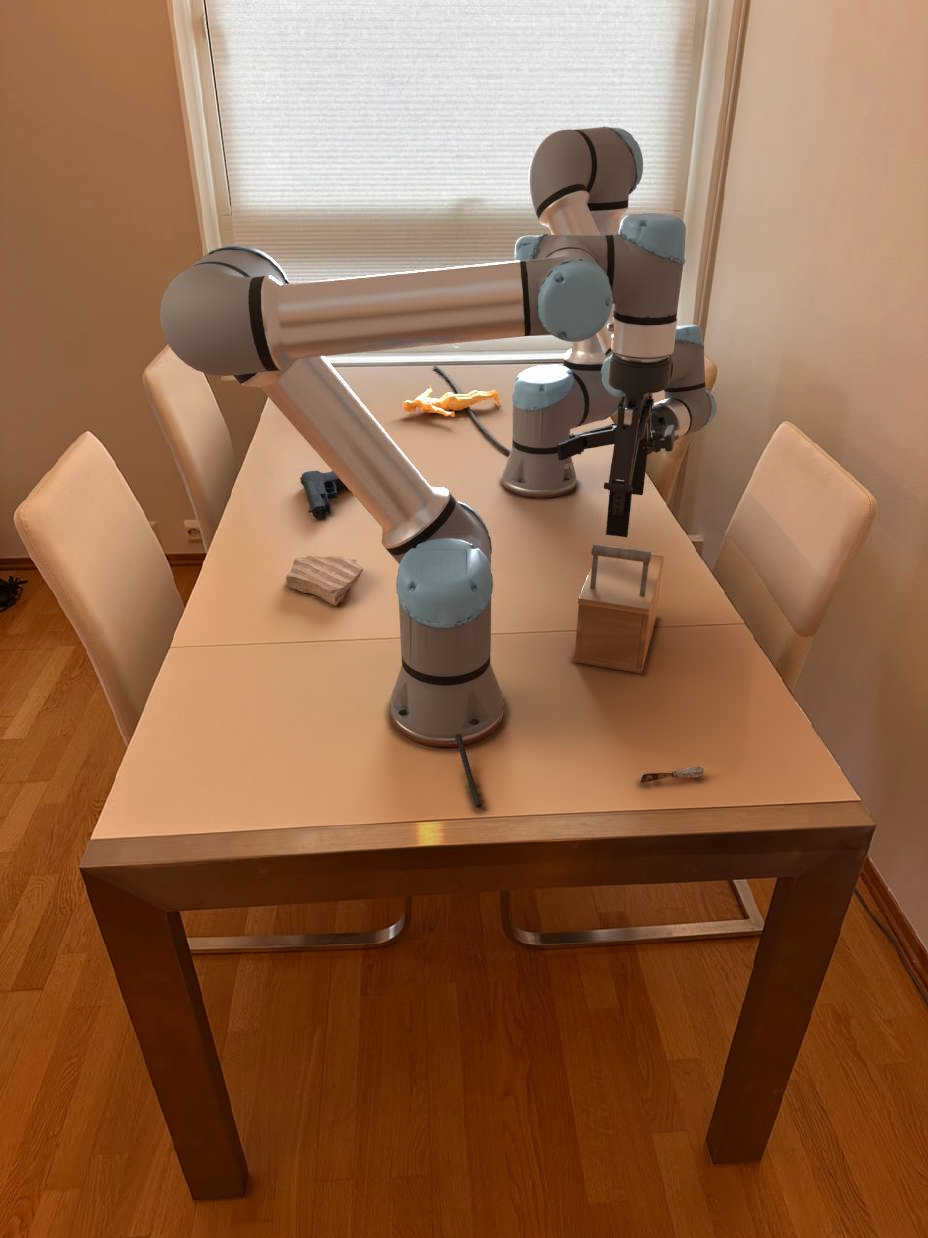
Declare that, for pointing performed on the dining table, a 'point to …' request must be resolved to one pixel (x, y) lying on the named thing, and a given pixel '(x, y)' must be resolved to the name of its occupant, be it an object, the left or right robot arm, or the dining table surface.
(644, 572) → the lid
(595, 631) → the chest
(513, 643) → the dining table surface
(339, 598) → the stone
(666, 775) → the putty knife
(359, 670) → the dining table surface
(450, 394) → the human figure
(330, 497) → the handgun
